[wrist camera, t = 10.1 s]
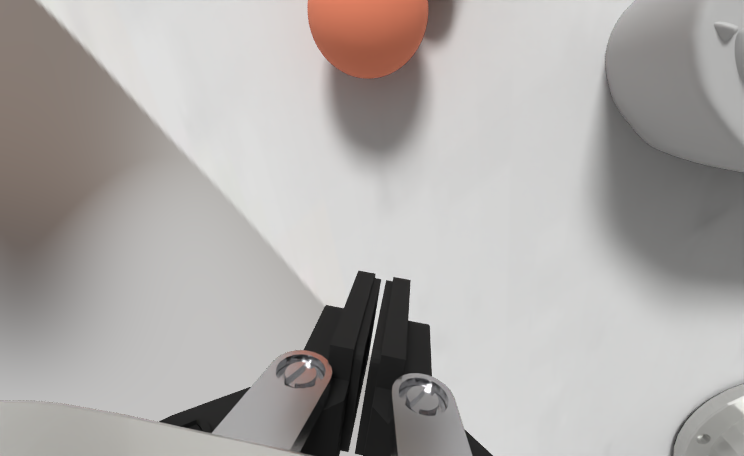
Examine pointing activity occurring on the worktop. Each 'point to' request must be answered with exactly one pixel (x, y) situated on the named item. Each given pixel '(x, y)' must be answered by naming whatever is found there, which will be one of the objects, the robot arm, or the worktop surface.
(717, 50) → the paw print mold
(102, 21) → the worktop surface
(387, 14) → the ball
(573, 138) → the worktop surface
